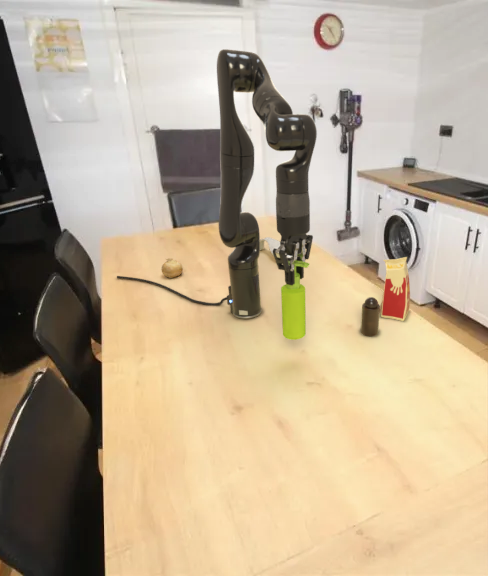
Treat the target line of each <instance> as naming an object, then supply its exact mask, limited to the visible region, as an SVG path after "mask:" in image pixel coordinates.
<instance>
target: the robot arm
mask: <svg viewBox="0 0 488 576" xmlns="http://www.w3.org/2000/svg"><path fill="white" fill-rule="evenodd" d="M216 81H217V93H218V95H217V96H218V107H219V126H220V128H219V131H220V136H219V137H220V138H219V140H220V141H219V161H220V162H219V163H220V166H219V167H220V201H219V202H220V203H219V214H218V233H219V238H220V240H221V242H222V244H223V245H224V246H225V247H227V248H230V249H231V248H232V249H233V250H232V251H231V252H230V254H229V255H228V257H227V268H228V275H229V286H228V287H227V289H228V294H227V295H226V297H223V298H222V299H221V300H220V301H219V302H207V301H201V300H196V299H194V298H191V297H190V296H187V295H185V294H182V293H181V292H179V291H177V290H174V289H172V288H170V287H168V286H166V285H164V284H161V283H159V282H155V281H152V280H147V279H144V278H139V277H138V278H137V277H131V276H121V275H117V276H116V278H117V279H122V280H131V281H137V282H143V283H147V284H151V285H155V286H157V287H160V288H162V289H165V290H167V291H169V292H171V293H173V294H175V295H177V296H179V297H180V298H184V299H186V300H187V301H190V302H192V303H194V304H199V305H204V306H213V307H215V306H216V307H217V306H221V305H223V303H224V302H225V301H226V302H227V305H228V306H229V307H230V314H232V315H233V316H234V317H235V318H237V319H240V320H249V319H254V318H256V317H258V316H260V315H261V314H262V312H263V310H262V300H261V285H260V283H261V282H260V272H259V257H260V253H261V250H260V239H261V236H260V235H261V234H260V233H261V232H260V226H259V223H258V220H257V218H256V216H255V215H254V214H253V213H252V212H249V211H242V204H243V199H244V197H245V194H246V192H247V190H248V188H249V186H250V184H251V182H252V178H253V175H254V171H255V157H256V156H255V155H256V153H255V152H256V150H255V145H254V142H253V140H252V137H251V135H250V134H249V132H248V131H247V129H246V127H245V125H244V124H243V122H242V120H241V118H240V116H239V113H238V111H237V107H236V103H235V93H242V94H243V93H244V94H245V93H246V94H252V96H251V105H252V110H253V111H254V114H255V115H256V117H257V118H258V119H259V120H260V122H261V123H262V126H263V129H264V132H265V133H264V134H265V140H266V143H267V146H269V148H271V149H272V150H274V151H277V152H292V151H293V152H294V154H293V156H292V157H291V158H290V159H289V160H285V161H283V162H281V163H278V165H276V167H275V188H276V189H275V190H276V196H275V214H276V215H275V219H276V231H277V233H278V234H279V235H280V246H279V248H278V249H275V248H274V249H273V255H274V257H273V258H274V260H275V263H276V266H277V269H278V270H280V271H283V272H284V282H285V284H288V285H293V284H295V276H294V264H295V261H303V262H306V261H307V260H309V259H310V254H311V250H312V245H313V238H314V236H313V234H308V233H309V232H310V231H311V213H310V212H311V207H310V206H311V201H310V195H309V194H310V193H309V171H310V167H311V162H312V157H313V154H314V149H315V146H316V142H317V136H318V130H317V126H316V125H317V124H316V122H315V120H314V118H313V117H311V115H309V114H306V113H294V112H293V109H292V107H291V104H289V101H287V99H286V98H285V97H284V96H283V95H282V94H281V93H280V91H279V90H278V89H277V88H276V86H275V84H274V82H273V80H272V77H271V75H270V73H269V71H268V69H267V66H266V65H265V63H264V61H263V59H262V58H261V57H260V56H259V54H257V53H256V52H255V53H254V52H252V51H245V50H238V49H237V50H236V49H227V48H226V49H221V50H219V52H218V55H217V58H216ZM273 255H272V256H273ZM287 255H290V256H292V257H289V256H287ZM288 261H290V265H289V264H288ZM296 272H297V273H299V274H300V280H303V279H304V277H305V275H304V274H305V267H300V266H296Z"/></svg>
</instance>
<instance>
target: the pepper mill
mask: <svg viewBox="0 0 488 576" xmlns="http://www.w3.org/2000/svg"><path fill="white" fill-rule="evenodd" d="M380 307H381V304H379V301H378V300H377V299H376V298H375V297H373V296H369V297H367V298H366V299H365V301H364V302H363V303H362V306H361V322H360V323H361V325H360V333H361V334H362V335H363V336H366V337H375V336H377V335H378V334H379V327H380Z"/></svg>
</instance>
